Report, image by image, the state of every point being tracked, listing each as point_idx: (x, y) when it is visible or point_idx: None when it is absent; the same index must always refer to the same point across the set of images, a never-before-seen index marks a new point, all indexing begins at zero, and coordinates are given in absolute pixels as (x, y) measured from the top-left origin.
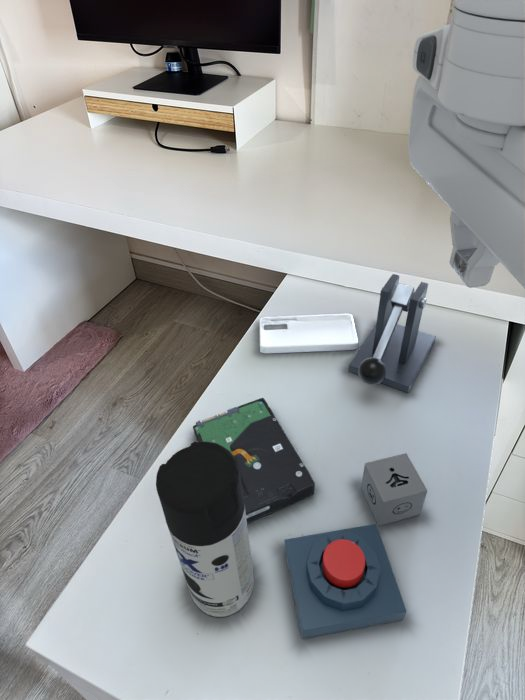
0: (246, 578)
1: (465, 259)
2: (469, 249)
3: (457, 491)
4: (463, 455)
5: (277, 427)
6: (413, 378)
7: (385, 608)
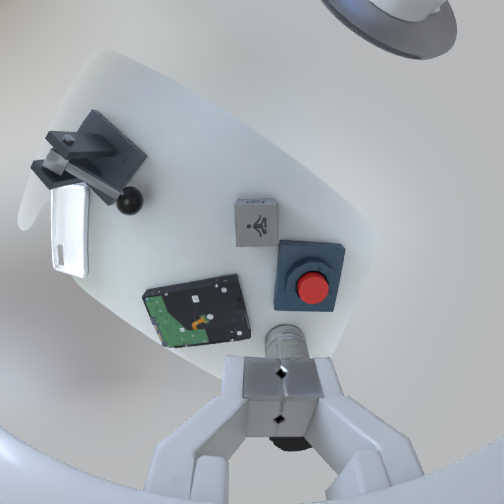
0: (303, 346)
1: (288, 434)
2: (247, 417)
3: (261, 157)
4: (227, 134)
5: (174, 294)
6: (135, 148)
7: (339, 261)
